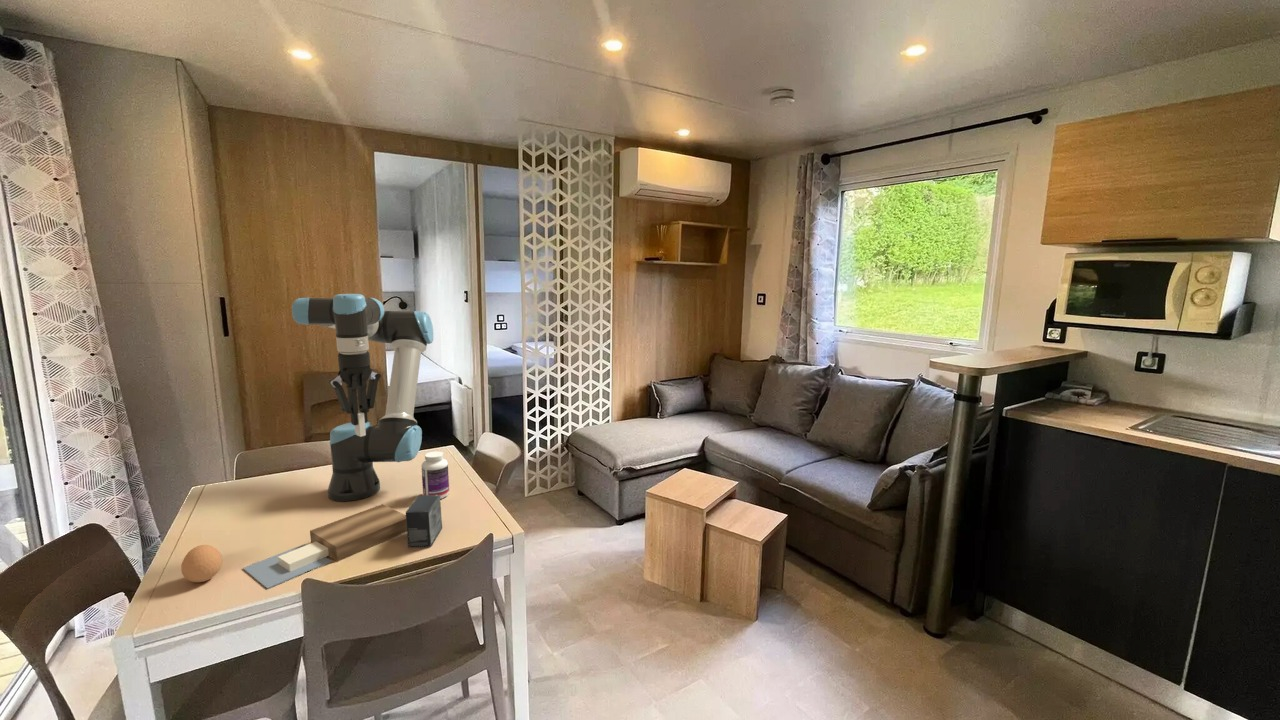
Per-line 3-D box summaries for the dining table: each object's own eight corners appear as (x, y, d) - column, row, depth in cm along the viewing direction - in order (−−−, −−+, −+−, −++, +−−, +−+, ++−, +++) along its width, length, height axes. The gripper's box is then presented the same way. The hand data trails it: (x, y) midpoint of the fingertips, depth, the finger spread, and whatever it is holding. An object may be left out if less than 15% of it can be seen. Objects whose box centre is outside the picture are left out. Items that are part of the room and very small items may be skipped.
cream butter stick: (278, 564, 128) (277, 556, 128) (316, 548, 135) (316, 541, 135) (290, 571, 125) (289, 564, 124) (328, 555, 132) (328, 548, 132)
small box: (419, 528, 148) (417, 494, 146) (443, 528, 148) (441, 494, 146) (406, 548, 137) (404, 511, 135) (431, 547, 138) (429, 510, 136)
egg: (212, 587, 119) (208, 553, 117) (175, 590, 117) (170, 556, 116) (230, 569, 126) (226, 537, 124) (195, 572, 124) (191, 539, 123)
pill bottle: (454, 493, 171) (453, 451, 169) (437, 503, 164) (435, 460, 161) (434, 489, 174) (432, 448, 172) (417, 499, 166) (415, 456, 164)
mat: (242, 568, 126) (242, 567, 126) (305, 544, 137) (305, 543, 137) (267, 589, 118) (267, 588, 118) (331, 562, 130) (331, 560, 130)
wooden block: (311, 544, 138) (309, 530, 137) (383, 516, 154) (382, 504, 153) (337, 561, 130) (336, 546, 129) (410, 530, 146) (409, 517, 146)
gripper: (334, 357, 131) (343, 444, 136) (384, 350, 142) (390, 431, 146) (321, 353, 135) (329, 438, 140) (370, 347, 146) (376, 426, 151)
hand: (360, 434), depth 143 cm, fingers closed
